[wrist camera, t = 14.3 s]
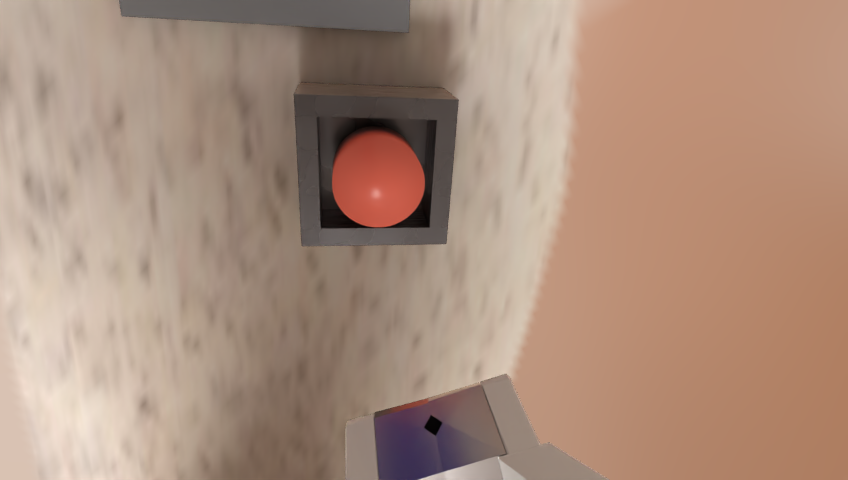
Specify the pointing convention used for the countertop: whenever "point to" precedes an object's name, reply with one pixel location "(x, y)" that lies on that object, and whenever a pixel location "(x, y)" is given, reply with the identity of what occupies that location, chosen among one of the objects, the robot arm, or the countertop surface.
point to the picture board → (281, 12)
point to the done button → (377, 177)
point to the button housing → (363, 107)
